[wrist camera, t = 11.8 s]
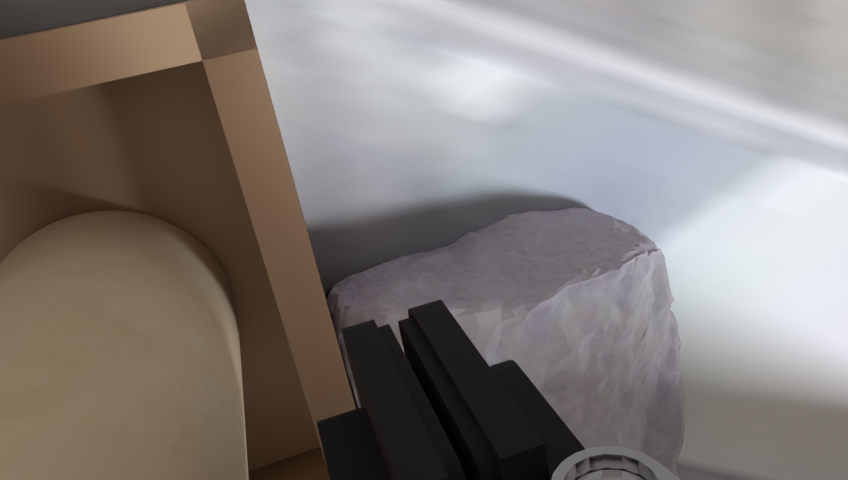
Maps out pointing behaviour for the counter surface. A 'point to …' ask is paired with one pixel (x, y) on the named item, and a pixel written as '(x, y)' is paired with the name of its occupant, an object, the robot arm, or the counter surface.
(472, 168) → the counter surface
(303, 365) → the tray
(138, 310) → the candle
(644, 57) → the counter surface
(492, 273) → the stone block
